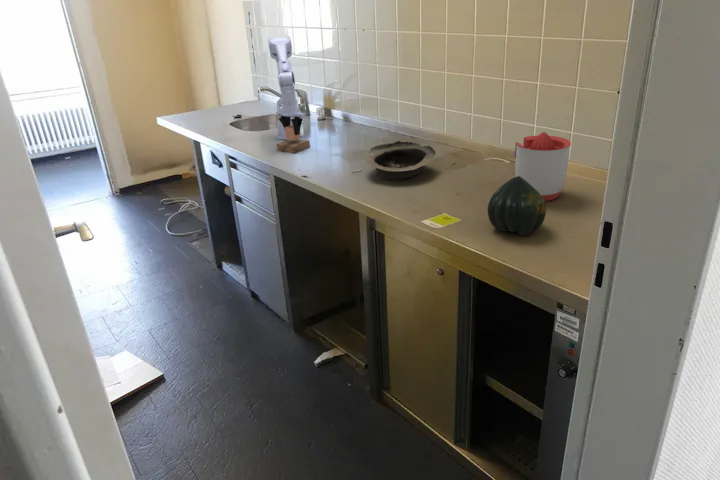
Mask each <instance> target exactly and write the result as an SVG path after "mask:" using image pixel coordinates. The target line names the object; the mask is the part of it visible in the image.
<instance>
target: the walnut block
mask: <svg viewBox="0 0 720 480" xmlns="http://www.w3.org/2000/svg"><path fill="white" fill-rule="evenodd" d="M310 141H311V140H309V139H302V138H297V139H295V140H292V139H289V140H283V141H282V142H277V143H276V149H277V151H278V152H280V151H282V153H287V152H288V154H294V155H296V154H298V153H300V152H303V151H305V150H308V149H309V148H310V149H311V142H310Z"/></svg>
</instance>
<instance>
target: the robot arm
mask: <svg viewBox="0 0 720 480" xmlns="http://www.w3.org/2000/svg"><path fill="white" fill-rule="evenodd" d="M267 42H268V50H269V55H270V58H271V59H273V60H275V62H276V67H277V72H278V74H277V80H278V87H279V90H280V92H281V93H280V94H281V97H280V98H279V99H278V100H277V101H276V111H275V114H276V117H277V118H278V120H277V122H276V129H277V137H276V138H277V139H280V140H284V141H286V140H289V139H286V133H285V127H287V126H289V125H293V126H294V132H295V135H299V134H300V133H301V128H302V123H303V121H304V119H306V113H305V112H301V111H300V107H299V101H298V100H297V99H296V89H295V86H296V78H295V73H294V71H293V69H292V64H291V61H290V60H289V59H290V57H292V54H293V53H292V52H293V46H292V45H293V44H292V38H291V36H289V35H288V36H280V37H279V36H278V37H269V38H268V39H267ZM303 137H304V135H303V134H301V137H300V138H303Z"/></svg>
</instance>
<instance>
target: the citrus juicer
mask: <svg viewBox="0 0 720 480" xmlns="http://www.w3.org/2000/svg"><path fill="white" fill-rule="evenodd" d="M522 144H523V145H522ZM522 144H521V143H520V142H518V141H516V142H515V150H514V151H511V153H510V157H513V156H514V159H515V162H514V163H515V164H514V165H515V167H514V175H515V176H514V177H517V176H520V177H521V178H523V179H524V180H525V181H527V182H528V183H529V184H530V185H531V186H532V187H533V188H535V189H536V190H537V191H538V192H539V193H540V195H541V196H542V197H543V199H544V201H545V202H548V201H551V200H555V199H557V198H558V197H559V195H560V194H561V192H562V190H563V187H564V184H565V181H566V177H567V171H568V164H569V163H568V162H569V155H570V146H571V145H572V142H571V141H570V140H569V139H567V138H564V137H561V136H554V135H549V134H548V133H547V132H545V131H543V132H541V133H539V134H538V135H529V136H525V137H524V136H523V143H522Z"/></svg>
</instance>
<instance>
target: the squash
mask: <svg viewBox="0 0 720 480" xmlns="http://www.w3.org/2000/svg"><path fill="white" fill-rule="evenodd" d="M546 214H547V205H546V201H544V199H543V197H542V196H541V195H540V193H539V192H538V191H537V190H536V189H535V188H533V187H532V186H531V185H530V184H529V183H528V182H527V181H525V180H524V179H523V178H521V177H520V176H517V177H515V176H514V177H512V178H511V179H509V180H508V181H506V182H505V183H504V184H502V185H501V186H499V187H498V188H497V189H496V190H495V192H494V193H493V194H492V196H491V197H490V199H489V201H488V205H487V215H488V219H489V222H490V224H491V226H493V227H494V228H495V229H496V230H499V231H503V232H509V231H510V232H513V233H514V232H516V233H517V234H519V235H520V236H527V235H529V234H530V233H532V232H535V231H537V230H538V229H539V228H540V227H541V226H542V225H543V223H544V221H545V219H546Z"/></svg>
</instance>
